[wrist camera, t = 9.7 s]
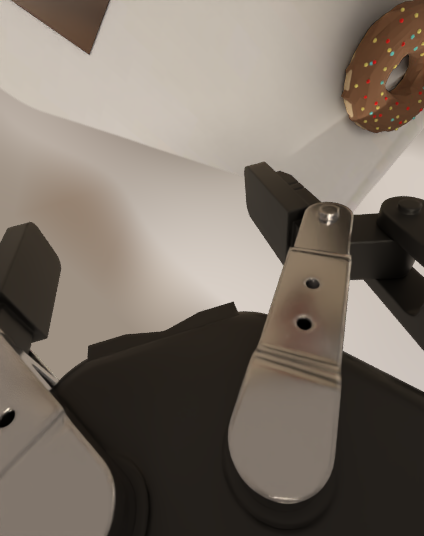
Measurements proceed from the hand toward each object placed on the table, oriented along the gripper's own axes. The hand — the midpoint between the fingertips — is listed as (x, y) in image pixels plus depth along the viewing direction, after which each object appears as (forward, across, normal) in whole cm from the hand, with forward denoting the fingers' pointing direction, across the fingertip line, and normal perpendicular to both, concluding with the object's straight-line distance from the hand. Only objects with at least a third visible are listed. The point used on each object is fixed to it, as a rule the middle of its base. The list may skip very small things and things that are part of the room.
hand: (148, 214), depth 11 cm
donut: (+28, -33, +4) cm, 43 cm away
